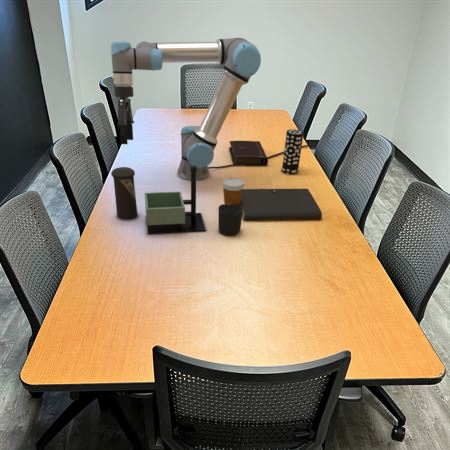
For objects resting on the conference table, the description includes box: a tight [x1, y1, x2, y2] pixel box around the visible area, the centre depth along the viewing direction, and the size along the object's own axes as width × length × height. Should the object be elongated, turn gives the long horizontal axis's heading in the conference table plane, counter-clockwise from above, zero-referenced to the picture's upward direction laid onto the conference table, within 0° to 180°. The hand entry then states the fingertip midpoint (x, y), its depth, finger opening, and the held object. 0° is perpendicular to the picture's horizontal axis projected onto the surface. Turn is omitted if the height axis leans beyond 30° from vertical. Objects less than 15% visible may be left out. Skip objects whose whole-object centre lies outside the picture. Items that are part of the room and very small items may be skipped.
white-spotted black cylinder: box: [281, 128, 305, 176], centre depth 229 cm, size 8×8×20 cm
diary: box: [228, 140, 269, 167], centre depth 247 cm, size 19×25×5 cm
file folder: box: [240, 188, 323, 221], centre depth 200 cm, size 33×4×24 cm
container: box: [110, 166, 138, 221], centre depth 183 cm, size 9×9×20 cm
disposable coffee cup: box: [221, 177, 245, 205], centre depth 196 cm, size 10×10×12 cm
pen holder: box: [218, 203, 243, 237], centre depth 180 cm, size 9×9×10 cm
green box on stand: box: [144, 165, 207, 235], centre depth 178 cm, size 23×15×24 cm, turn 101°
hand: (127, 142), depth 191 cm, fingers open, 13 cm apart
